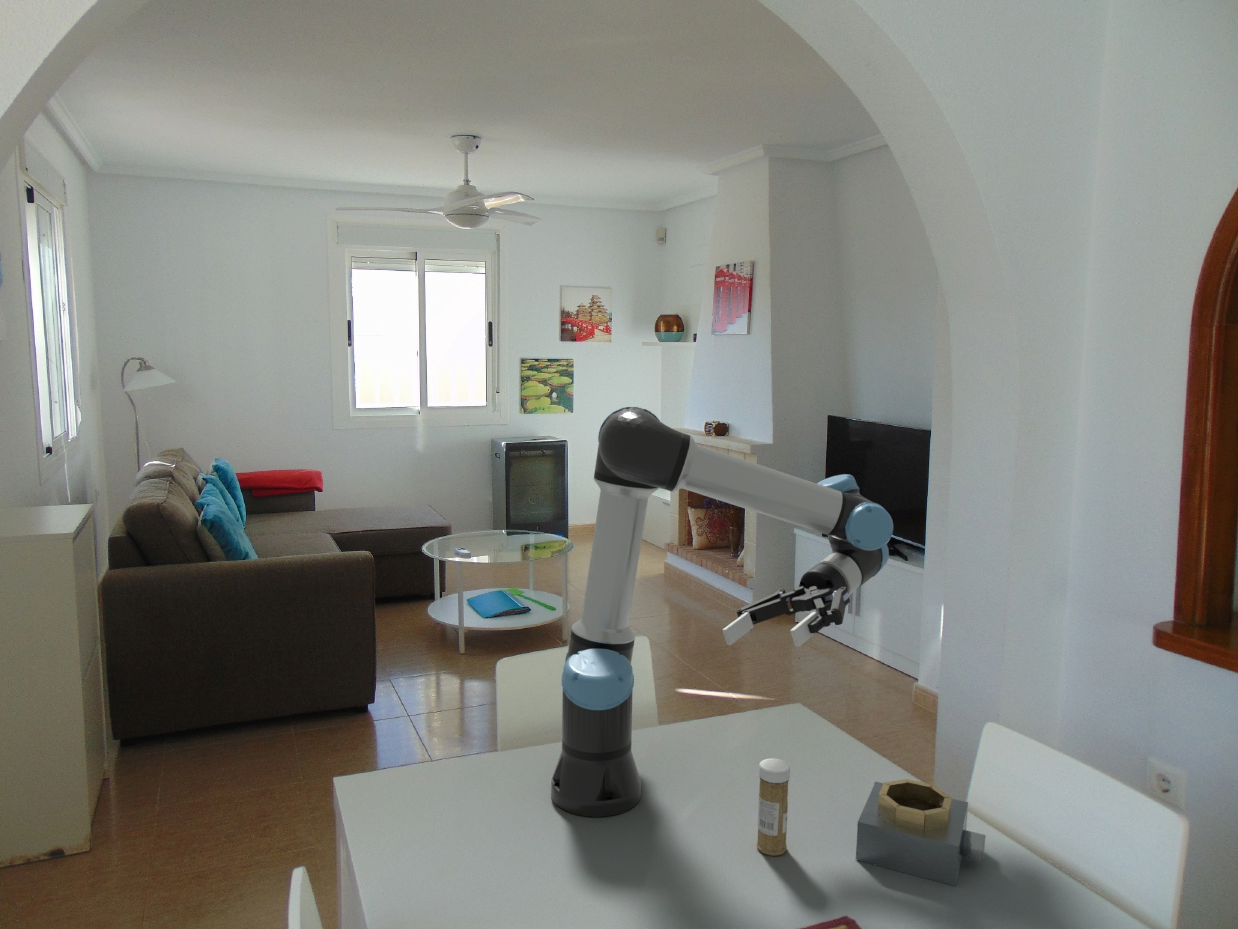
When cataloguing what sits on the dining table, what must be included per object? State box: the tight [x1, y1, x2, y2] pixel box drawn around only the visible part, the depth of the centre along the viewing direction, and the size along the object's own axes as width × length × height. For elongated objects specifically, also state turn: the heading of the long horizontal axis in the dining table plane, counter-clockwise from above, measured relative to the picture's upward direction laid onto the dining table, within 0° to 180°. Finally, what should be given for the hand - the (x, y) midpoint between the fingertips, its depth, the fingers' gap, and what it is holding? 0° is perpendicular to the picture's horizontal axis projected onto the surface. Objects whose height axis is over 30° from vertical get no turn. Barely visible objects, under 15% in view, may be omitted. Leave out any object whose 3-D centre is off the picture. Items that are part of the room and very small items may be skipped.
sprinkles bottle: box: [756, 758, 791, 857], centre depth 133 cm, size 5×5×13 cm
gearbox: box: [855, 778, 987, 887], centre depth 133 cm, size 17×14×8 cm
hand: (759, 638), depth 138 cm, fingers open, 13 cm apart
